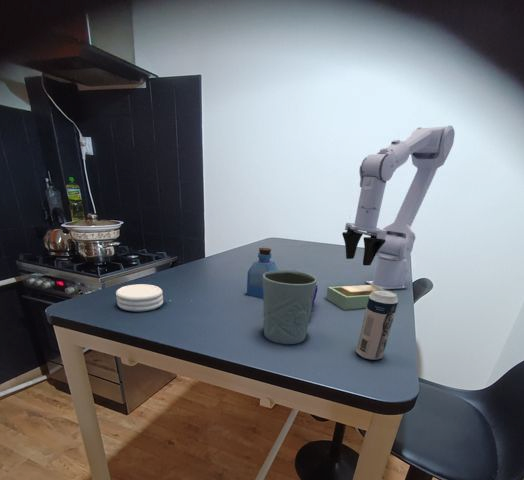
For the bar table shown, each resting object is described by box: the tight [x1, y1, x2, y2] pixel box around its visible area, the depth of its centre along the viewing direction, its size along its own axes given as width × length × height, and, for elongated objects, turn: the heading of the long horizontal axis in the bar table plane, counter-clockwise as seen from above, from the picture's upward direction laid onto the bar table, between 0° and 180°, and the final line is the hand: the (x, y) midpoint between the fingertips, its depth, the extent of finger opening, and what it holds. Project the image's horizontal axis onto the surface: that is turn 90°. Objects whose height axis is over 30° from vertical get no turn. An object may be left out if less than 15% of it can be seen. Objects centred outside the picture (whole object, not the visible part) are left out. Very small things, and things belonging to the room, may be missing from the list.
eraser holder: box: [325, 284, 384, 311], centre depth 85 cm, size 15×9×3 cm, turn 112°
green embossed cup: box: [262, 269, 318, 345], centre depth 62 cm, size 10×10×12 cm
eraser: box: [340, 284, 380, 296], centre depth 85 cm, size 10×4×3 cm, turn 112°
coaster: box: [115, 283, 164, 313], centre depth 73 cm, size 10×10×4 cm
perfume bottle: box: [246, 247, 279, 299], centre depth 84 cm, size 6×6×12 cm
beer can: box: [355, 289, 399, 361], centre depth 56 cm, size 5×5×12 cm
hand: (357, 261), depth 88 cm, fingers open, 7 cm apart
